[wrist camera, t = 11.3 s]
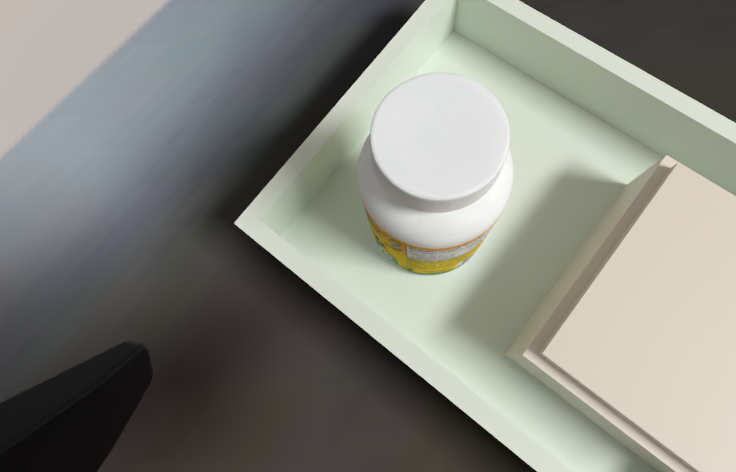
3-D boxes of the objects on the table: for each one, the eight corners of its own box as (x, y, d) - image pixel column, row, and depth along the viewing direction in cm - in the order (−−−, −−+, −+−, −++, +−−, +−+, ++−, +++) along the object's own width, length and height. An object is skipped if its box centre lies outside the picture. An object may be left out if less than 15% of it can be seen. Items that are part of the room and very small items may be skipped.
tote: (841, 258, 21) (939, 238, 17) (651, 561, 19) (714, 616, 15) (449, 22, 26) (455, -36, 22) (262, 243, 24) (233, 223, 20)
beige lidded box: (790, 288, 20) (884, 273, 16) (668, 479, 19) (736, 515, 15) (626, 184, 22) (674, 148, 18) (503, 353, 21) (526, 355, 17)
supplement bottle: (489, 273, 21) (550, 219, 12) (375, 281, 22) (349, 234, 13) (476, 165, 23) (522, 41, 13) (368, 174, 23) (341, 60, 14)
